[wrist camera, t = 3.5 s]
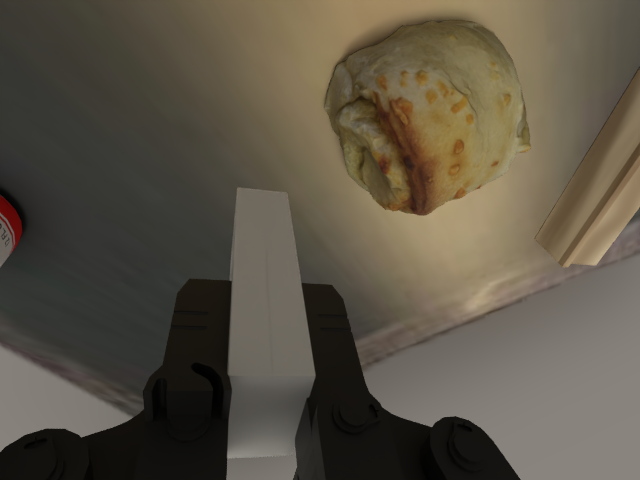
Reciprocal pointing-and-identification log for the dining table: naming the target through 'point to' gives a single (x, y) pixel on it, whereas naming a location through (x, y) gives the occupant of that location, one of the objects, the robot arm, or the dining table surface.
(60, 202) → the dining table surface
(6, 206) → the beer can
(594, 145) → the wooden block
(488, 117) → the pastry
